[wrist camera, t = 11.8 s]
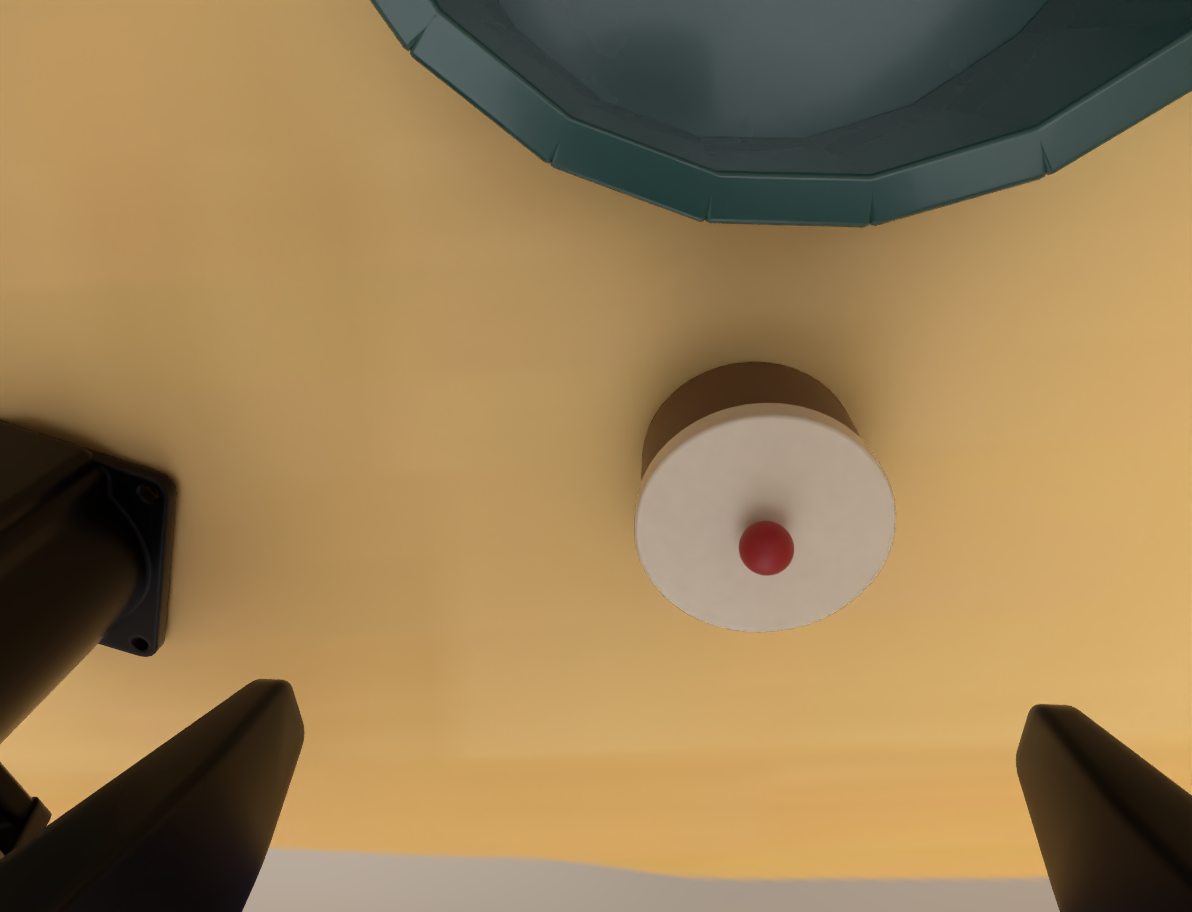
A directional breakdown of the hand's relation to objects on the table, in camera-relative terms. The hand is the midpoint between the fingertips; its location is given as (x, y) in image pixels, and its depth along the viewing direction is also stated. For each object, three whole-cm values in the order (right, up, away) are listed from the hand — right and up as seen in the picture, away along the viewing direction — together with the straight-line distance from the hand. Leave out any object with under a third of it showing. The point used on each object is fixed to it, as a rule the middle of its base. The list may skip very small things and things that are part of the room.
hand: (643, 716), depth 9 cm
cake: (+3, +3, +9) cm, 10 cm away
